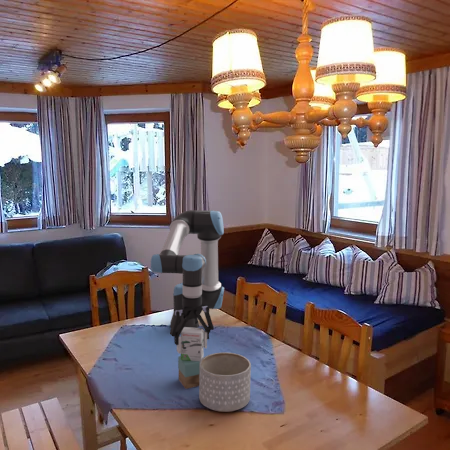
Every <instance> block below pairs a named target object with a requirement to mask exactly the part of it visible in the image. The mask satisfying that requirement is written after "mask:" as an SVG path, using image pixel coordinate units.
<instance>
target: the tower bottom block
mask: <svg viewBox="0 0 450 450" xmlns="http://www.w3.org/2000/svg"><path fill="white" fill-rule="evenodd" d="M178 381H179V382H180V384H181V385H182V386H183V388H184V389H185V390H187V389H191V388H195V387H196V388H197V387H199V374H198V375H194V376H189V377H185V376H184V375H183V374H182V373H181V371H180V370H179V369H178Z"/></svg>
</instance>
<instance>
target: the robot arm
mask: <svg viewBox="0 0 450 450" xmlns="http://www.w3.org/2000/svg"><path fill="white" fill-rule="evenodd" d="M224 230H225V228H224V218H223V215H222V213H221V211H218V210H202V209H201V210H200V209H199V210H197V209H196V210H195V209H189V210H185V211H183V212H181V213H180V214H178V215H177V216H175V217H174V218H173V219H172V220H171V223H170V225H169V232H168V235H167V236H166V239H165V242H164V244H163V246H162V248H161V250H160V253H156V254H152V255H151V259H150V269H151V271H152V272H153V273H156V274H157V273H158V274H159V273H160V274H182V282H180V283H178V284H175V286H173V293H172V295H173V298H172V299H173V313H172V316H171V318H170V319H171V320H170V323H169V324H170V325H169V326H170V331H169V335H170V336H171V337H173V338H174V342H173V343H174V345H175V346H176V352H177V353H178V354H180V355H181V332H182V330H183V328H184V327H191V328H199V327H200V326H199V324H200V325H201V326H202V328H203V329H204V349H207V348H208V340H209V339H210V333H211V331H213V330H214V329H215V328H214V324H213V320H212V318H211V315H210V310H218V309H221V308H222V306H223V299H224V291H225V287H224V286H222V283H221V282H220V281H219V247H218V246H219V240H220V239H221V238H222V236H223V235H224V233H225V231H224ZM189 234H193V235H197V239H198V241H200V253H193V254H187V255H186V254H185V255H184V254H183V255H182V254H180V252H181V249H182V246H183V243H184V241H185V238H186V237H187V236H189ZM202 312H203V313H204V317H205V320H206V322H205V320H204V319H203V316H202V315H201V313H202Z"/></svg>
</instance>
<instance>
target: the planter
mask: <svg viewBox="0 0 450 450" xmlns="http://www.w3.org/2000/svg"><path fill="white" fill-rule="evenodd" d="M251 370H252V364H251V361H250V360H249V359H248V358H247V357H245V356H244V355H241V354H239V353H234V352H226V351H224V352H216V353H215V352H214V353H211V354H207V355H206V356H204V357H203V358H202V359H201V361H200V363H199V386H198V389H199V391H198V399H199V401H200V403H201V404H202V405H203V406H204V407H205V408H207V409H210V410H212V411H215V412H219V413H221V412H222V413H229V412H235V411H237V410H240V409H243V408H244V407H246V406H247V405H248V404H249V403H250V400H251V378H252V377H251V376H252V375H251V373H252V372H251Z"/></svg>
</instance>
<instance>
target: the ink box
mask: <svg viewBox="0 0 450 450" xmlns="http://www.w3.org/2000/svg"><path fill="white" fill-rule="evenodd" d="M204 330H205V329H204V328H203V327H198V328H191V327H184V328H183V330H182V332H181V334H180V337H181V353H180V356H181V360H185V361H201V359H202V358H204V357H205V356H204V354H205V353H204V352H205V351H204V349H205V348H204Z"/></svg>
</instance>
